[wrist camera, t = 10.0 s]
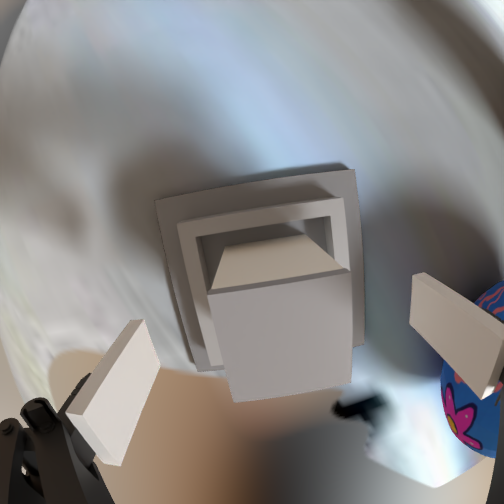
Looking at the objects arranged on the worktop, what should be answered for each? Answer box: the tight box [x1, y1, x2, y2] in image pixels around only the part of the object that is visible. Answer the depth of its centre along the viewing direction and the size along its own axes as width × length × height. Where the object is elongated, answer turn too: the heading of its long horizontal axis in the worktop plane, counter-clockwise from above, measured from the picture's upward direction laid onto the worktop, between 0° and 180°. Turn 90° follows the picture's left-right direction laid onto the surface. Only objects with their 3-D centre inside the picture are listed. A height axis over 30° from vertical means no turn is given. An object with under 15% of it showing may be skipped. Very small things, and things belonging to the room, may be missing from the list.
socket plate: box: [154, 169, 365, 372], centre depth 20 cm, size 14×14×3 cm
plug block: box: [207, 234, 353, 402], centre depth 16 cm, size 6×6×9 cm
